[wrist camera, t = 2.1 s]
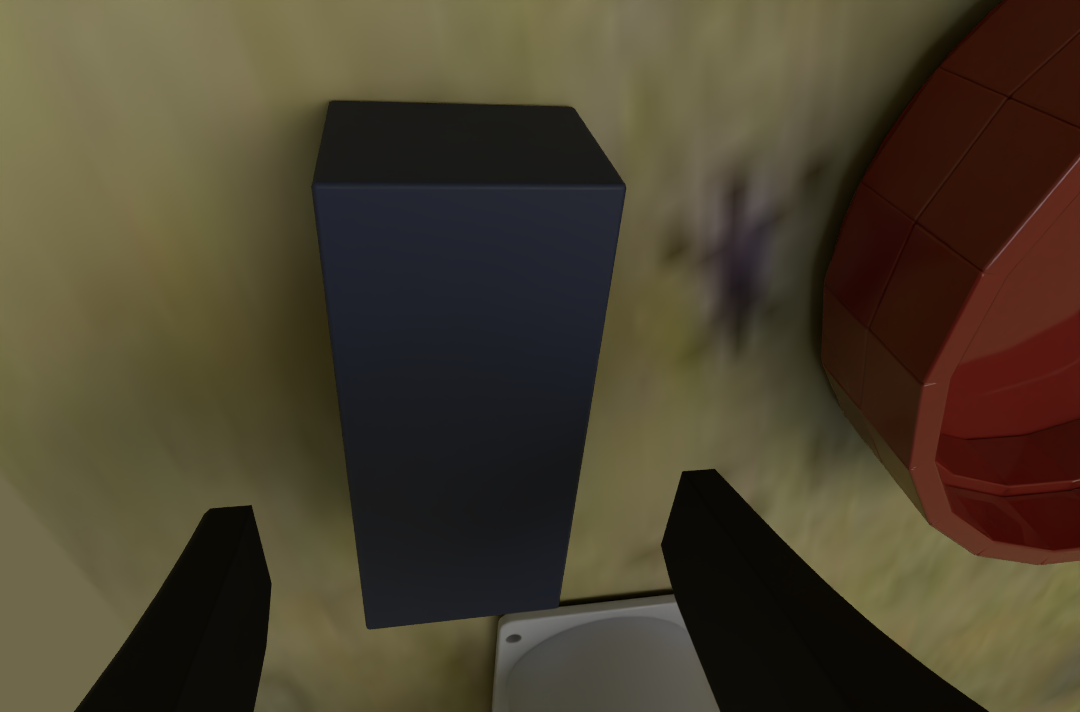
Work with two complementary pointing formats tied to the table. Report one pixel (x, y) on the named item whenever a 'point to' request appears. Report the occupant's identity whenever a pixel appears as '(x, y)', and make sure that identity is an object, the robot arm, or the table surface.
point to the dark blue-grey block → (463, 343)
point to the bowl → (973, 291)
